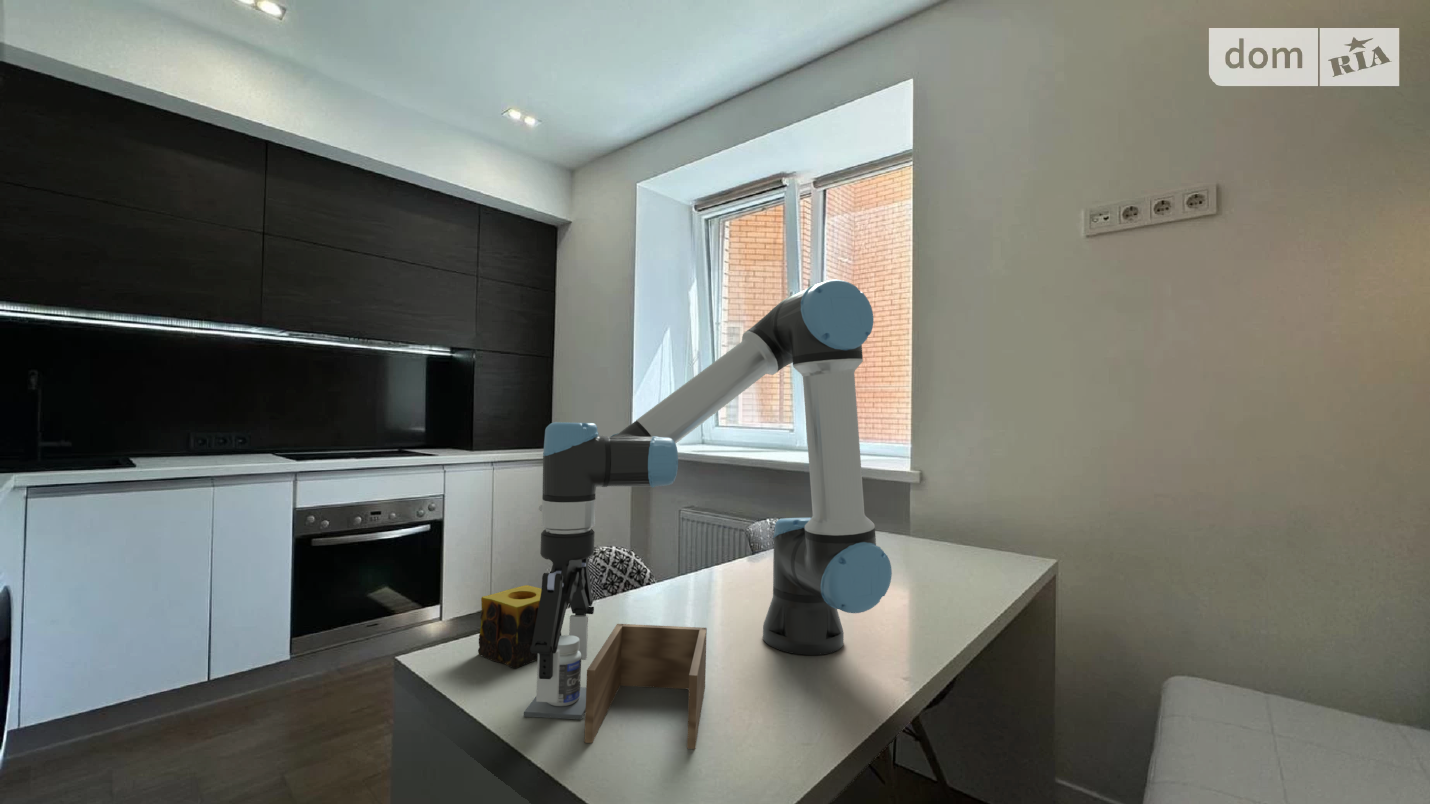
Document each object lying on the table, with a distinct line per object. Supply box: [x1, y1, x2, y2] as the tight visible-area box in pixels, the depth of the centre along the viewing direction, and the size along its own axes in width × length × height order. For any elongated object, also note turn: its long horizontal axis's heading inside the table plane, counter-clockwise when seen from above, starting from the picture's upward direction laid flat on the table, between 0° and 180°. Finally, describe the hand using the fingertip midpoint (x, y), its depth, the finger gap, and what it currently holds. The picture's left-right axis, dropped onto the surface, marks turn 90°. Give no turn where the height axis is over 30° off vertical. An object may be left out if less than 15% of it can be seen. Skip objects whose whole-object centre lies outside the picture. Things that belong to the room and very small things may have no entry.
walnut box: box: [583, 623, 708, 750], centre depth 80 cm, size 14×17×9 cm
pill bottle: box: [547, 634, 582, 706], centre depth 82 cm, size 5×5×8 cm
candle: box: [477, 584, 562, 669], centre depth 100 cm, size 10×10×10 cm
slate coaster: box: [523, 686, 586, 720], centre depth 82 cm, size 8×8×1 cm
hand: (563, 678), depth 82 cm, fingers open, 13 cm apart
